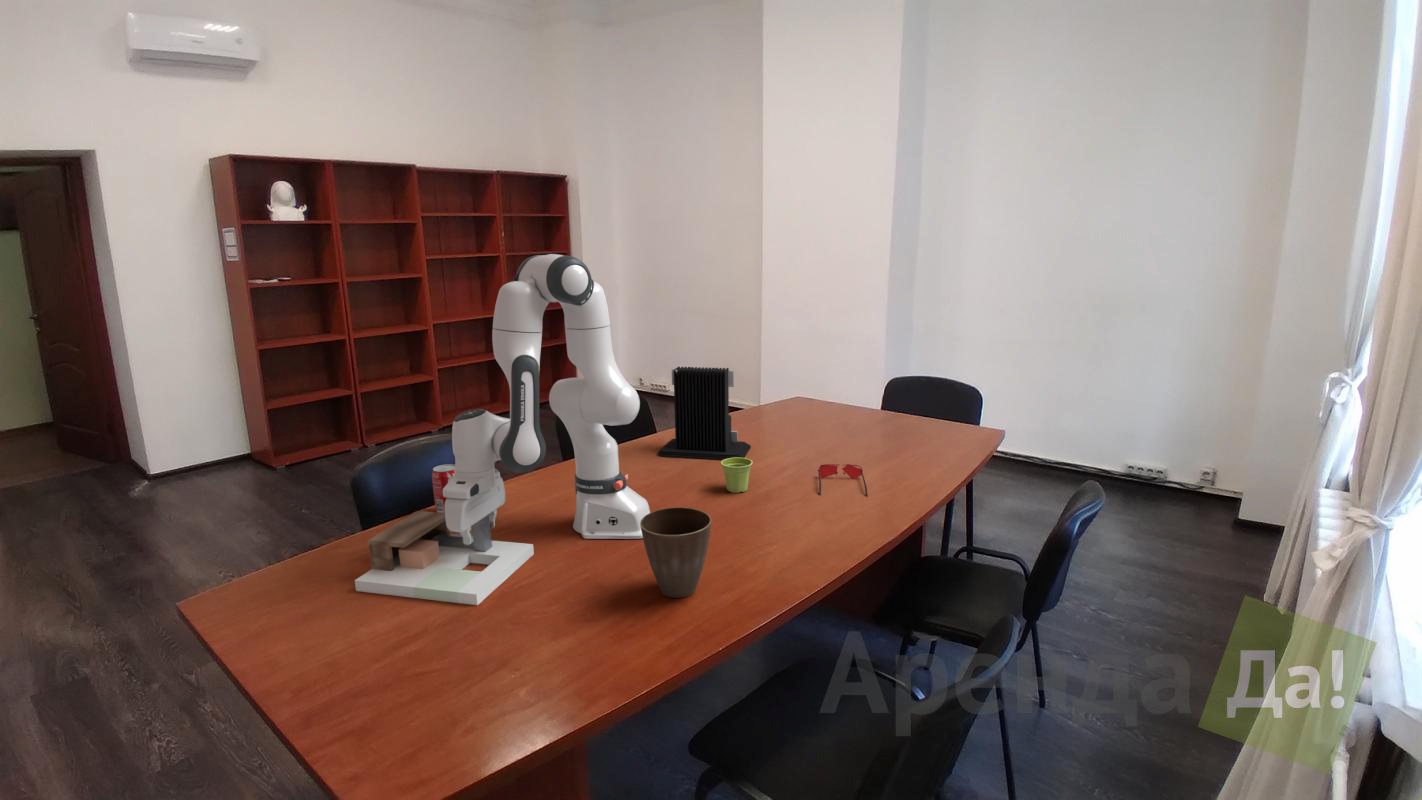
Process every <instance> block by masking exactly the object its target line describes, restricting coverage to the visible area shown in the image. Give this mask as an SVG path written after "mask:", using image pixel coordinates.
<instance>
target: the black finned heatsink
mask: <svg viewBox="0 0 1422 800" xmlns="http://www.w3.org/2000/svg"><path fill="white" fill-rule="evenodd" d="M734 374H735V373H734V370H730V369H729V367H727V368H725V367H723V368H722V367H720V368H719V367H703V366H702V367H701V366H700V367H697V366H695V367H694V366H688V367H687V366H681V367H680V366H677V367H676V368H671V386H673V397H674V398H673V399H674V434H675V438H672V439H670V440H669V441H668V442H667V443H666V444H665V445H664V446H663V447H661V449H659V450H658V451H657V456H658V457H662V458H674V459H675V458H676V459H677V458H678V459H691V460H692V459H695V460H710V461H711V460H712V461H713V460H714V461H722V460H724V459H728V458H735V457H738V458H746V456H747V455H748V453H749V451H750V450H751V448H752V446H751V444H748V443H747V442H746V441H741V440H740V441H739V437H738V430H732V416H731V414H730V413H729V403H730V400H729V398H730V396H729V388H734V387H735V384H734V383H735V382H734V381H735V379H734V377H735V375H734Z"/></svg>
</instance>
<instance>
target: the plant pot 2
mask: <svg viewBox="0 0 1422 800" xmlns="http://www.w3.org/2000/svg"><path fill="white" fill-rule="evenodd" d="M720 465H722V469H723V472H724V473H723V474H724V478H725V479H724V480H725V485H726V490H727V491H728V492H729V493H733V494H739V493H741V492H743V493H745V492H746V491H747V490H748V488H749V487H748V486H749V479H750V471H751V468H752V465H753V460H751V459H749V458H747V457H745V458H738V457H735V458H728V459H724V460H720Z"/></svg>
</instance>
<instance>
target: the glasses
mask: <svg viewBox="0 0 1422 800" xmlns="http://www.w3.org/2000/svg"><path fill="white" fill-rule="evenodd" d="M838 467H839V465H837V464H835V463H833V464H830V463H829V464H828V463H827V464H820V466H819V467H818V469H817V472H818V482H819V483H818V485H819V486H818V487H819V488H818V490H819V491H818V496H822V481H821V479H823V478H826V477H830V476H833V475H835V476H837V475H838V473H839V471H838ZM841 470H842V471H843V475H844V476H846V475H848V476H849V478H851V479H853V480H854V479H857V478H859V477H861V478H862V481H863V482H862V483H863V484H864V486H863V487H864V492H865V497H869V495H868V488H867V483H866V480H865V476H864V473H863V468H862V467H861V466H860V465H857V464H849V463H848V464H845V465H844V466H843V467H842V468H841ZM845 474H846V475H845Z"/></svg>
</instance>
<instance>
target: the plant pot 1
mask: <svg viewBox="0 0 1422 800" xmlns="http://www.w3.org/2000/svg"><path fill="white" fill-rule="evenodd" d="M640 526H641V531H642V536H643V538H642V539H643V544H644V548H645V552H646V555H647V558H648V562H649V565H650V568H651V570H652V574H653V576H654V578H655V581H656V584H657V585H658V588H659V589H660V591H661V593H662V595H664V596H665V597H668V598H672V599H673V598H674V599H675V598H676V599H680V598H685V597H689V596H691V595H692V594H693V593H695V592H696V588H697V587H698V584H699V581H700V578H701V576H702V572H703V567H704V565H705V561H706V557H707V552H708V548H709V547H708V546H709V542H710V535H711V528H712V517H711V516H710V515H709V514H708V513H706V512H705V511H703V510H701V509H696V508H692V507H691V508H690V507H667V508H661V509H657V510H654V511H652V512H651V511H650V513H649V514H647V515H646V516H644V517H643V518H642V519H641V522H640Z"/></svg>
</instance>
